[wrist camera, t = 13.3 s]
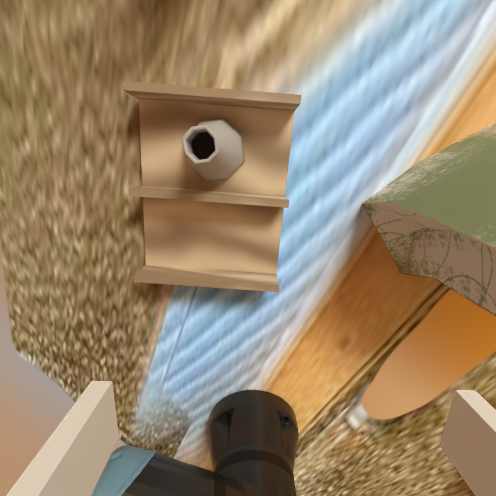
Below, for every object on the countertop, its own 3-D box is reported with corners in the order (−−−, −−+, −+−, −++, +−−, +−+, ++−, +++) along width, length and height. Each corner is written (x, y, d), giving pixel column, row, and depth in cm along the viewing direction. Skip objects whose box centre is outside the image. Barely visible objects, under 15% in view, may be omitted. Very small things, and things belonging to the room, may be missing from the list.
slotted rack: (274, 275, 39) (278, 292, 34) (149, 266, 39) (134, 281, 34) (293, 105, 32) (301, 95, 27) (142, 93, 32) (122, 81, 27)
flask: (203, 190, 34) (184, 201, 25) (174, 135, 32) (142, 123, 23) (255, 164, 33) (256, 165, 24) (228, 105, 31) (218, 80, 22)
